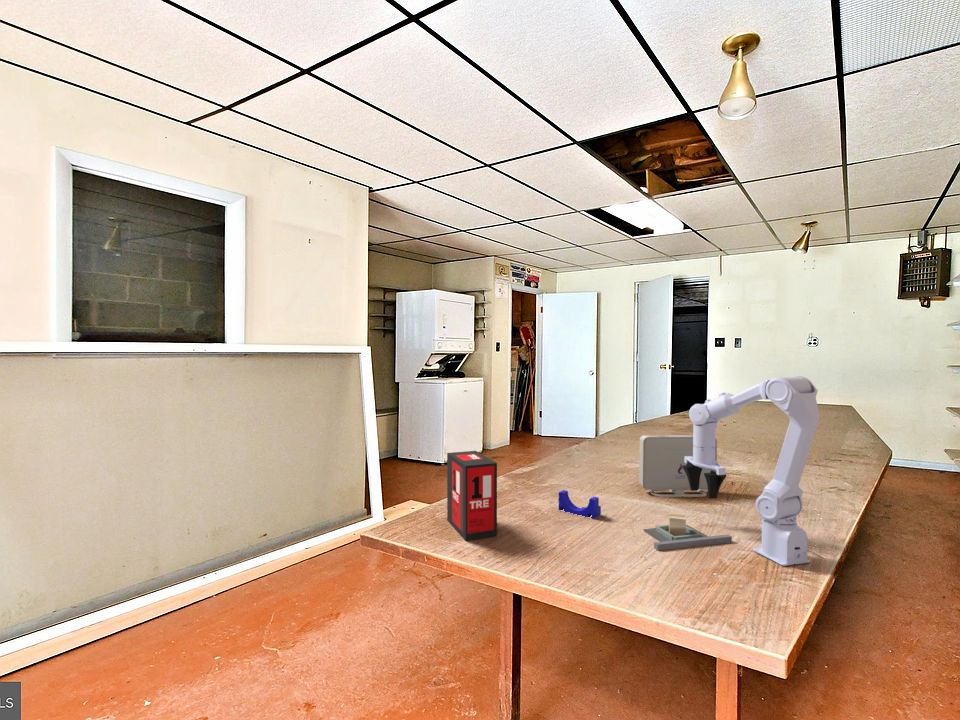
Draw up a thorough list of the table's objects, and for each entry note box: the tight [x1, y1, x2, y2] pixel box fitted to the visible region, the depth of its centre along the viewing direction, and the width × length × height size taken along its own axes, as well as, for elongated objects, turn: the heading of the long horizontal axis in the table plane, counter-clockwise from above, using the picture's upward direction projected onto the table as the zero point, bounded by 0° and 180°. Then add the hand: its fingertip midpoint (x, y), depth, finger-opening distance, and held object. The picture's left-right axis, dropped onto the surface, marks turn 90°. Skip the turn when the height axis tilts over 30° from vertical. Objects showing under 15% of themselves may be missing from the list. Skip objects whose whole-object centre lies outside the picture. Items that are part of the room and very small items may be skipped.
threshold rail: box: [653, 534, 733, 552], centre depth 130 cm, size 2×22×2 cm, turn 104°
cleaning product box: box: [446, 450, 498, 542], centre depth 141 cm, size 16×9×20 cm, turn 21°
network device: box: [638, 434, 718, 498], centre depth 174 cm, size 26×9×20 cm, turn 92°
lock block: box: [668, 512, 687, 536], centre depth 136 cm, size 4×4×5 cm
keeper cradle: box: [642, 524, 708, 542], centre depth 136 cm, size 11×14×2 cm
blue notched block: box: [558, 489, 602, 520], centre depth 154 cm, size 12×4×6 cm, turn 50°
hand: (703, 494), depth 142 cm, fingers open, 7 cm apart
